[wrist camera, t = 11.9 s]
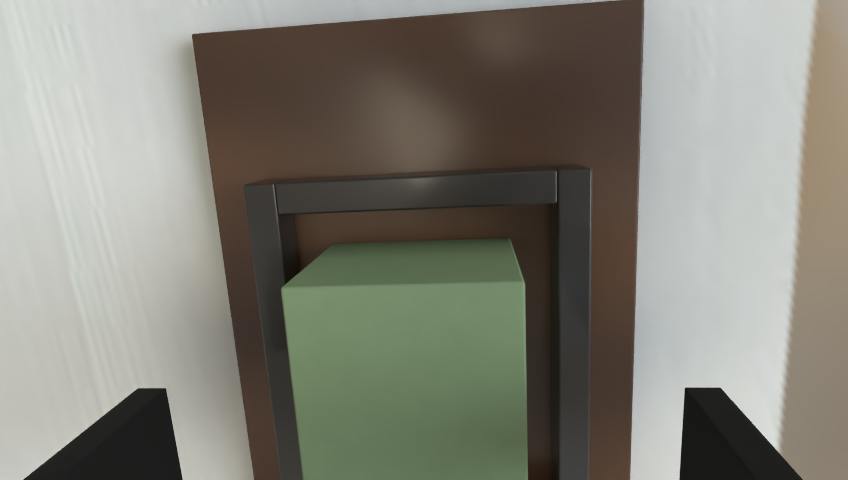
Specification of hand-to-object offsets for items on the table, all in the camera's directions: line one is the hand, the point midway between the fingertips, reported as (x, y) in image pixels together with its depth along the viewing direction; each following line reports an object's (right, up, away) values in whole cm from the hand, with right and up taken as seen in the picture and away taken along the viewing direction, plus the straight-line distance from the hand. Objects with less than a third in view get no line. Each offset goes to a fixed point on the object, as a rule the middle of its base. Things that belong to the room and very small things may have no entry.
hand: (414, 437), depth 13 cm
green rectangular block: (0, +1, +6) cm, 6 cm away
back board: (0, +1, +7) cm, 7 cm away
